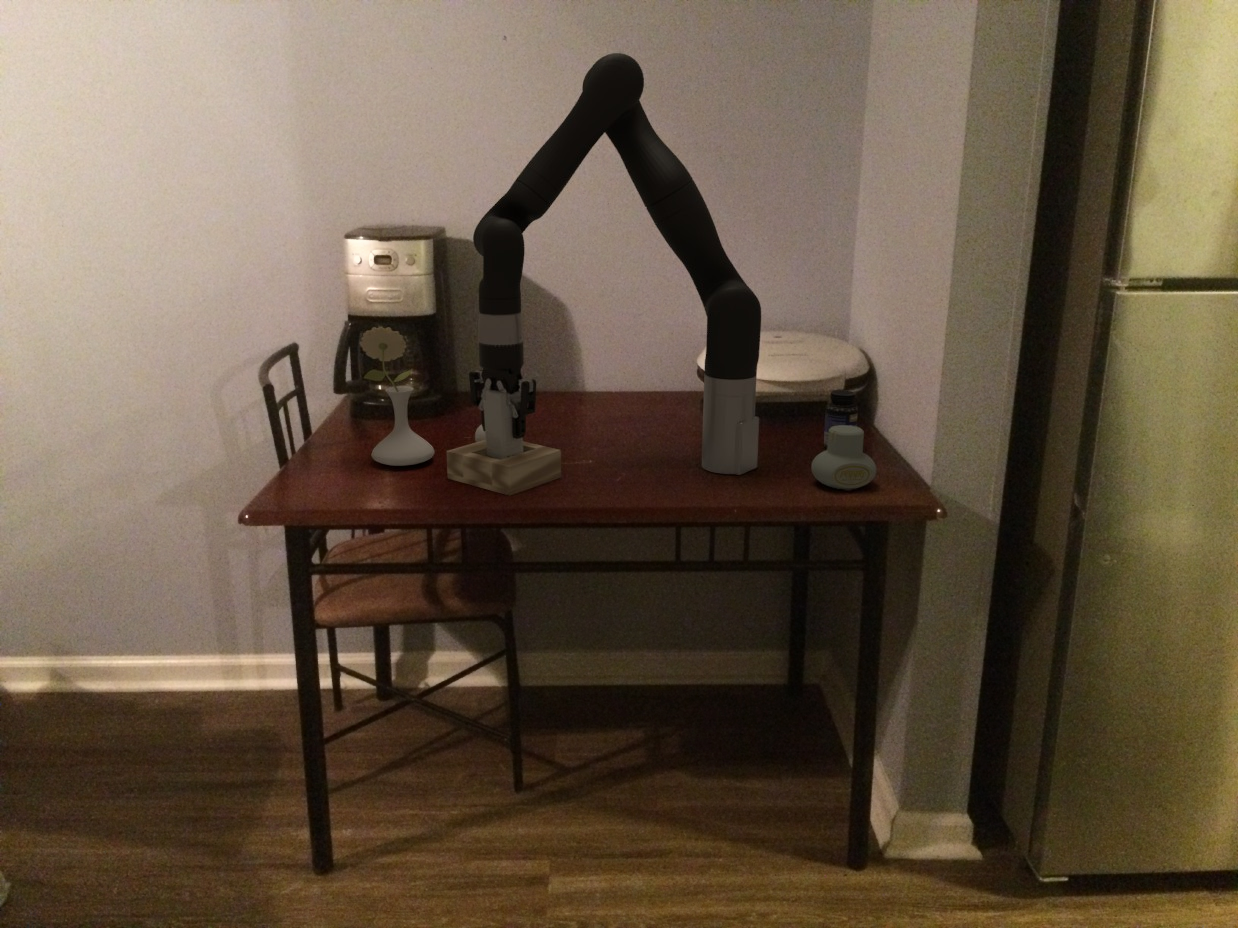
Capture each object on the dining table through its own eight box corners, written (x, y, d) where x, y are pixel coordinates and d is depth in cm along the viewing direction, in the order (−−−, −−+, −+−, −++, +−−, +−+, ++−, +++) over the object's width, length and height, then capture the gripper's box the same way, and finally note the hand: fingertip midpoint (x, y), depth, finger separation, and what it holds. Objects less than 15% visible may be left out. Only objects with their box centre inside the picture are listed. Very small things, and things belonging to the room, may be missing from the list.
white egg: (504, 446, 199) (503, 418, 197) (505, 454, 193) (504, 425, 192) (464, 447, 197) (463, 419, 196) (464, 455, 192) (463, 426, 190)
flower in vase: (445, 456, 192) (439, 323, 184) (418, 473, 181) (410, 333, 174) (382, 450, 195) (374, 320, 188) (352, 467, 185) (342, 330, 177)
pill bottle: (853, 453, 195) (857, 397, 192) (821, 450, 197) (824, 394, 194) (856, 445, 201) (861, 390, 197) (825, 442, 202) (829, 388, 199)
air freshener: (863, 476, 181) (868, 422, 178) (881, 491, 173) (886, 434, 170) (804, 479, 180) (807, 424, 177) (819, 493, 172) (823, 436, 169)
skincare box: (524, 459, 177) (523, 391, 174) (503, 463, 174) (501, 394, 171) (505, 451, 182) (503, 384, 178) (483, 455, 179) (481, 388, 175)
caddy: (561, 477, 179) (560, 450, 178) (509, 495, 170) (508, 467, 168) (499, 461, 188) (499, 435, 187) (447, 478, 178) (446, 451, 177)
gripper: (547, 341, 170) (548, 437, 175) (486, 331, 179) (489, 423, 184) (516, 347, 165) (518, 446, 170) (455, 337, 173) (458, 431, 178)
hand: (503, 434), depth 177 cm, fingers closed on skincare box, 6 cm apart
